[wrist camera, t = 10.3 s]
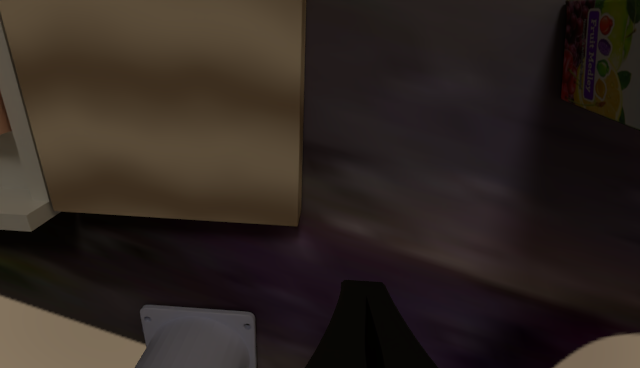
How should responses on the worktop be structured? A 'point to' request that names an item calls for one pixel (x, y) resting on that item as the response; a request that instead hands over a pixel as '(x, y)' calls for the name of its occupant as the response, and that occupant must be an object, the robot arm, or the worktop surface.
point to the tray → (19, 156)
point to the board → (165, 105)
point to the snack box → (603, 58)
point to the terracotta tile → (4, 118)
